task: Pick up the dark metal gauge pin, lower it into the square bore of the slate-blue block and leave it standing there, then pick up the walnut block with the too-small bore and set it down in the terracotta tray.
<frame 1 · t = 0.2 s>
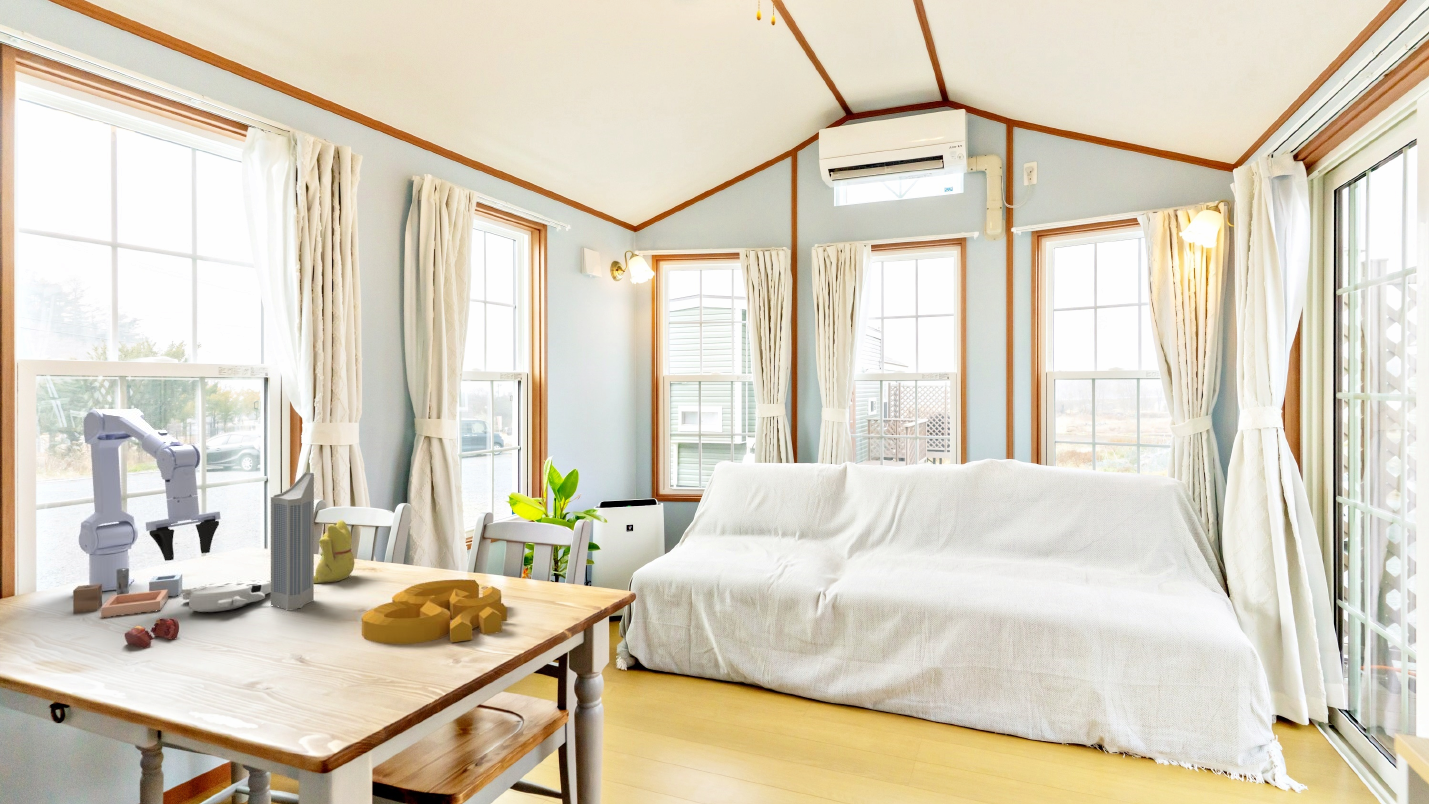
hand: (187, 556, 160), 11 cm above the table, tool pointing down, fingers open, 7 cm apart
gauge pin: (122, 599, 161), on the table
building model: (291, 605, 159), on the table
decorative symbol: (446, 622, 150), on the table
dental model: (152, 643, 136), on the table
tray: (136, 607, 155), on the table
slate block: (166, 594, 166), on the table
figurine: (333, 581, 179), on the table
walnut block: (87, 609, 154), on the table
toy: (226, 605, 160), on the table
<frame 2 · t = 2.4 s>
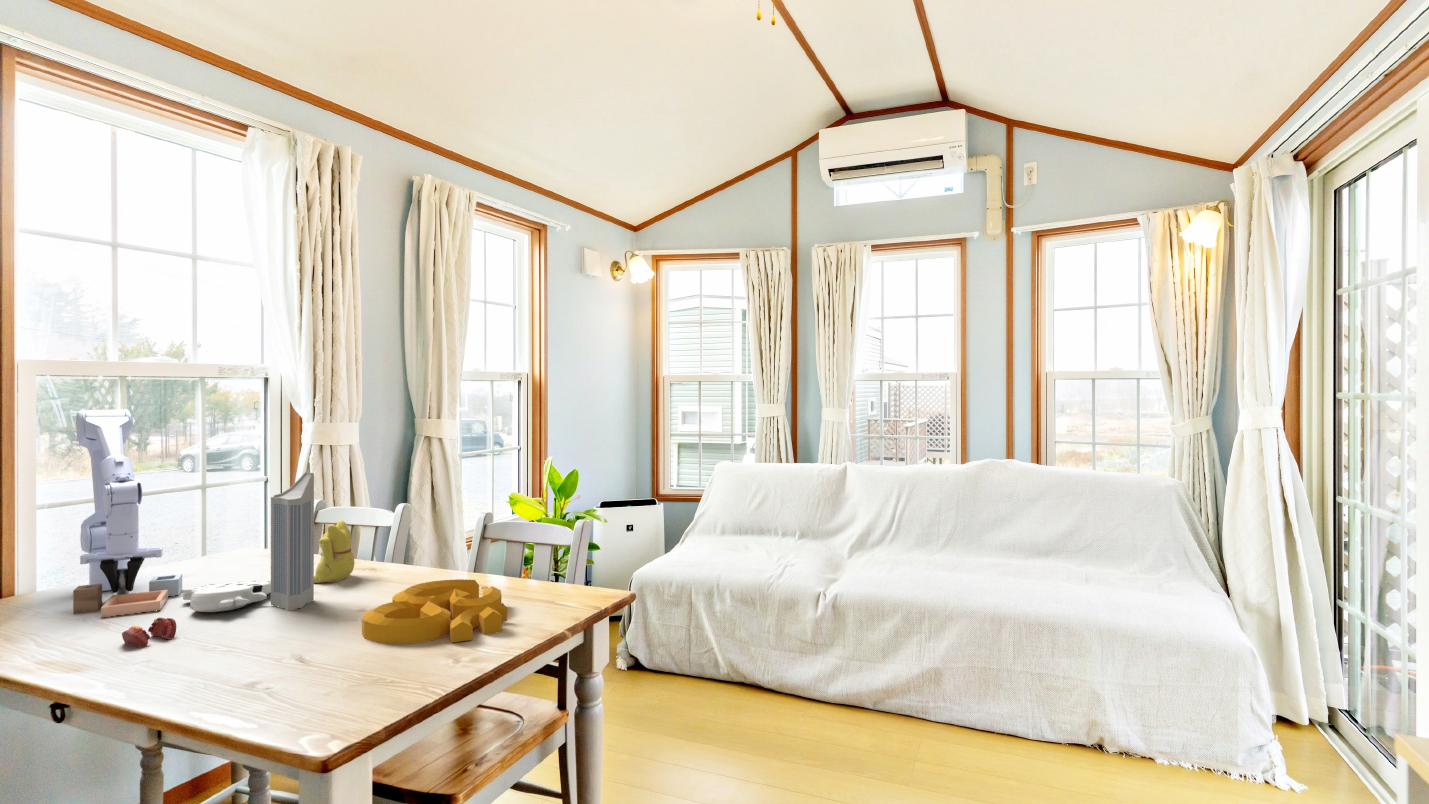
hand: (122, 590, 161), 2 cm above the table, tool pointing down, fingers closed on gauge pin, 2 cm apart
gauge pin: (122, 599, 161), on the table, touching gripper
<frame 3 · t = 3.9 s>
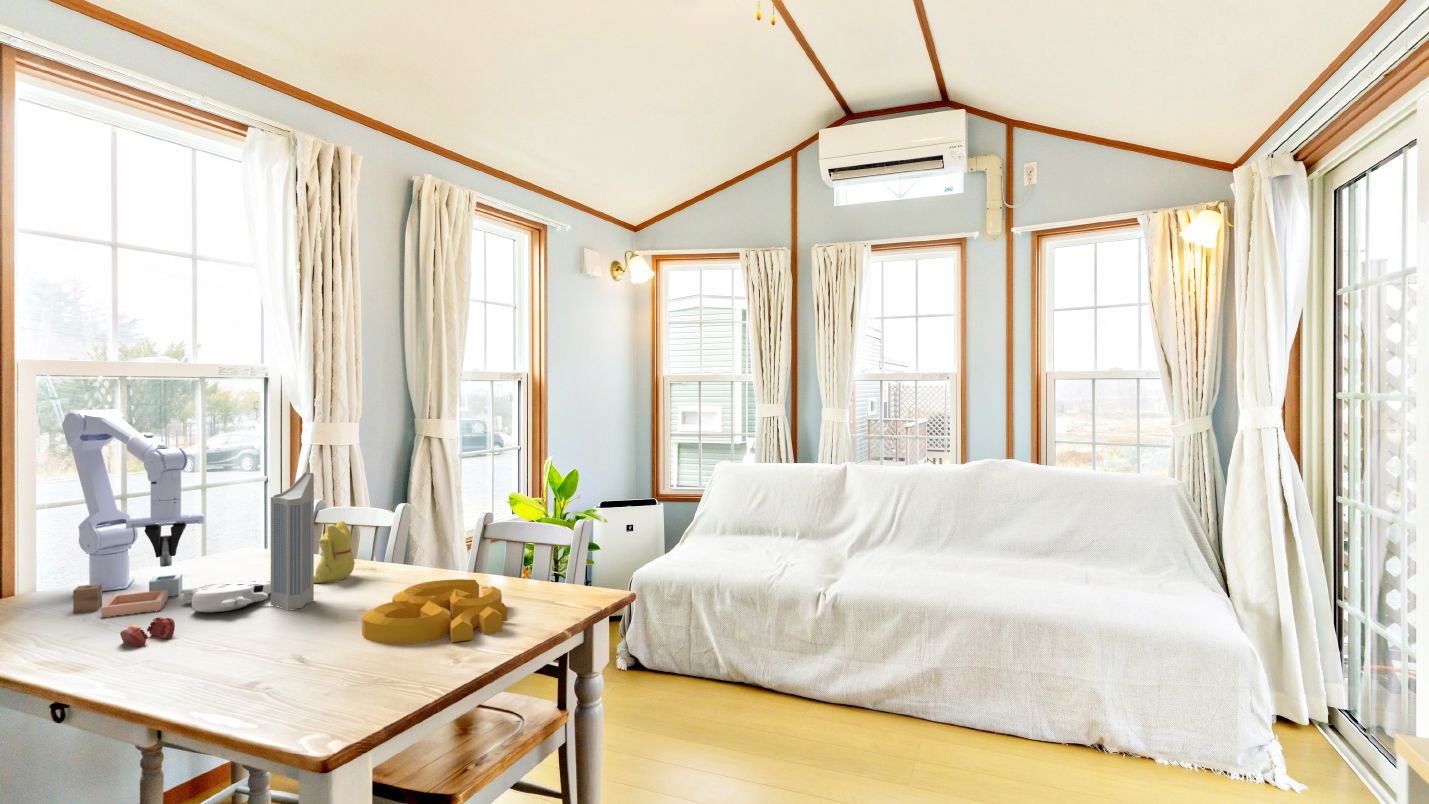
hand: (166, 555, 165), 9 cm above the table, tool pointing down, fingers closed on gauge pin, 2 cm apart
gauge pin: (165, 565, 165), point 7 cm above the table, touching gripper
when the fingers open (4 cm above the table, at t = 5.2 s): gauge pin drops 2 cm, resting in slate block.
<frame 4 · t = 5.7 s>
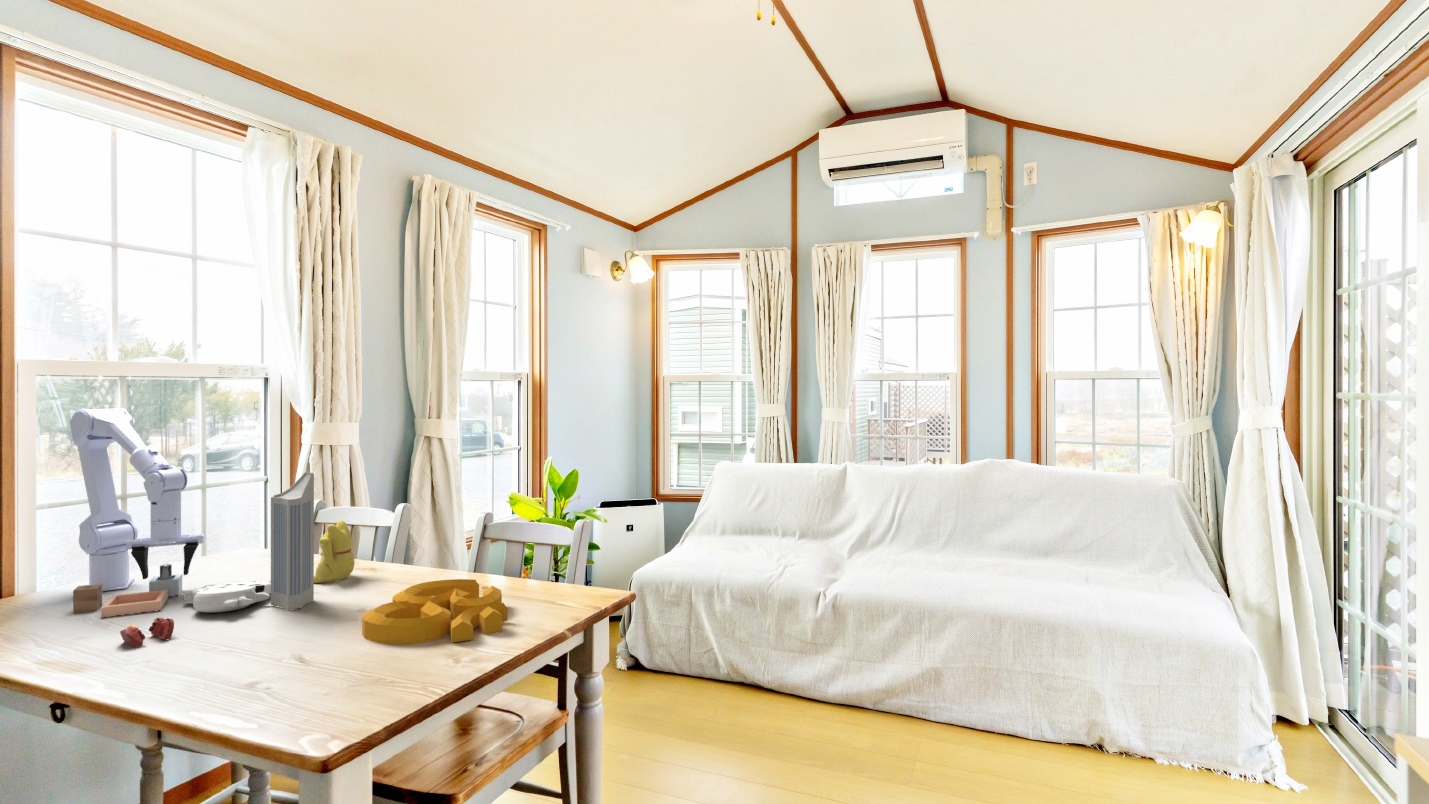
hand: (166, 576, 165), 4 cm above the table, tool pointing down, fingers open, 7 cm apart
gauge pin: (165, 594, 165), resting in slate block
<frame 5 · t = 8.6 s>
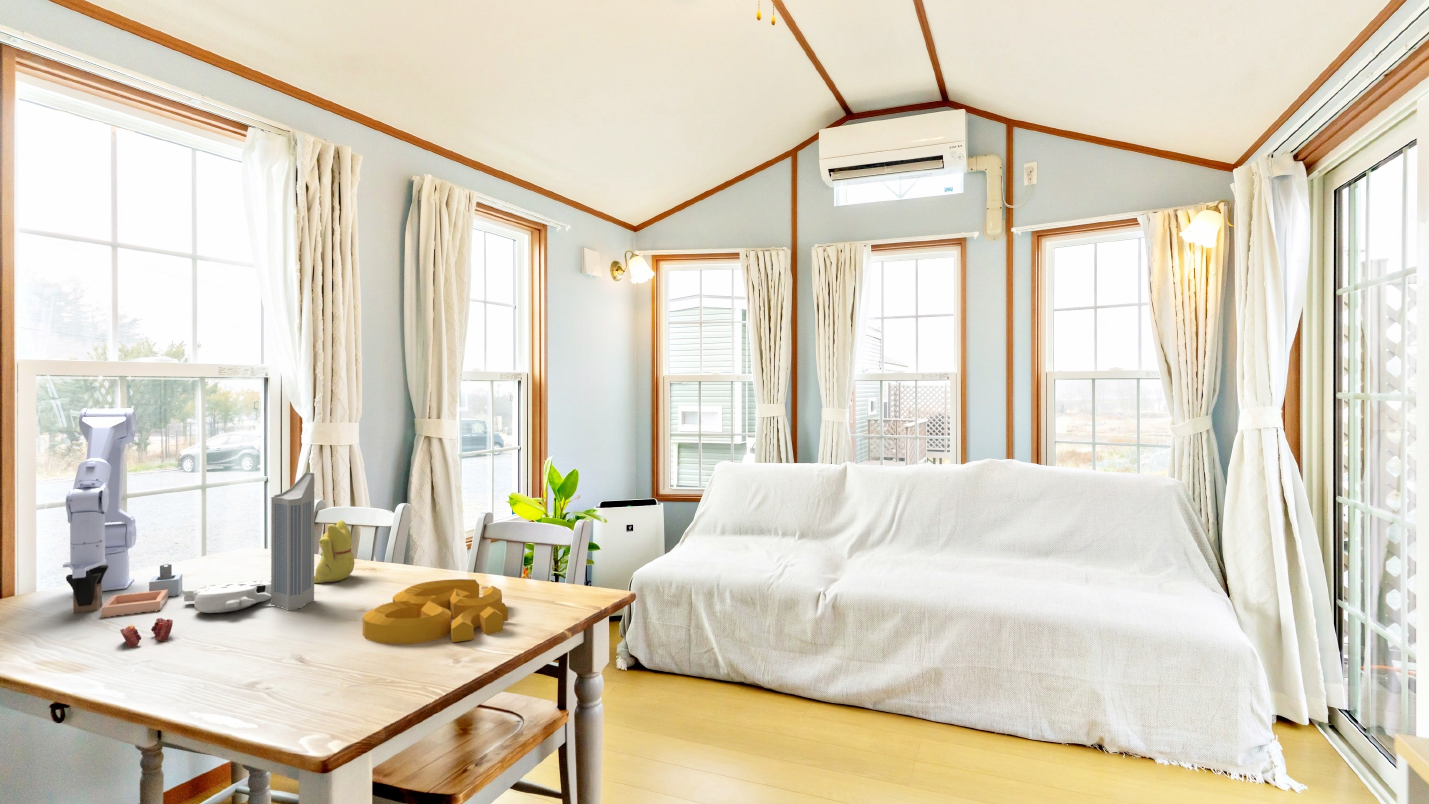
hand: (87, 602, 154), 1 cm above the table, tool pointing down, fingers closed on walnut block, 4 cm apart
walnut block: (87, 608, 154), on the table, touching gripper
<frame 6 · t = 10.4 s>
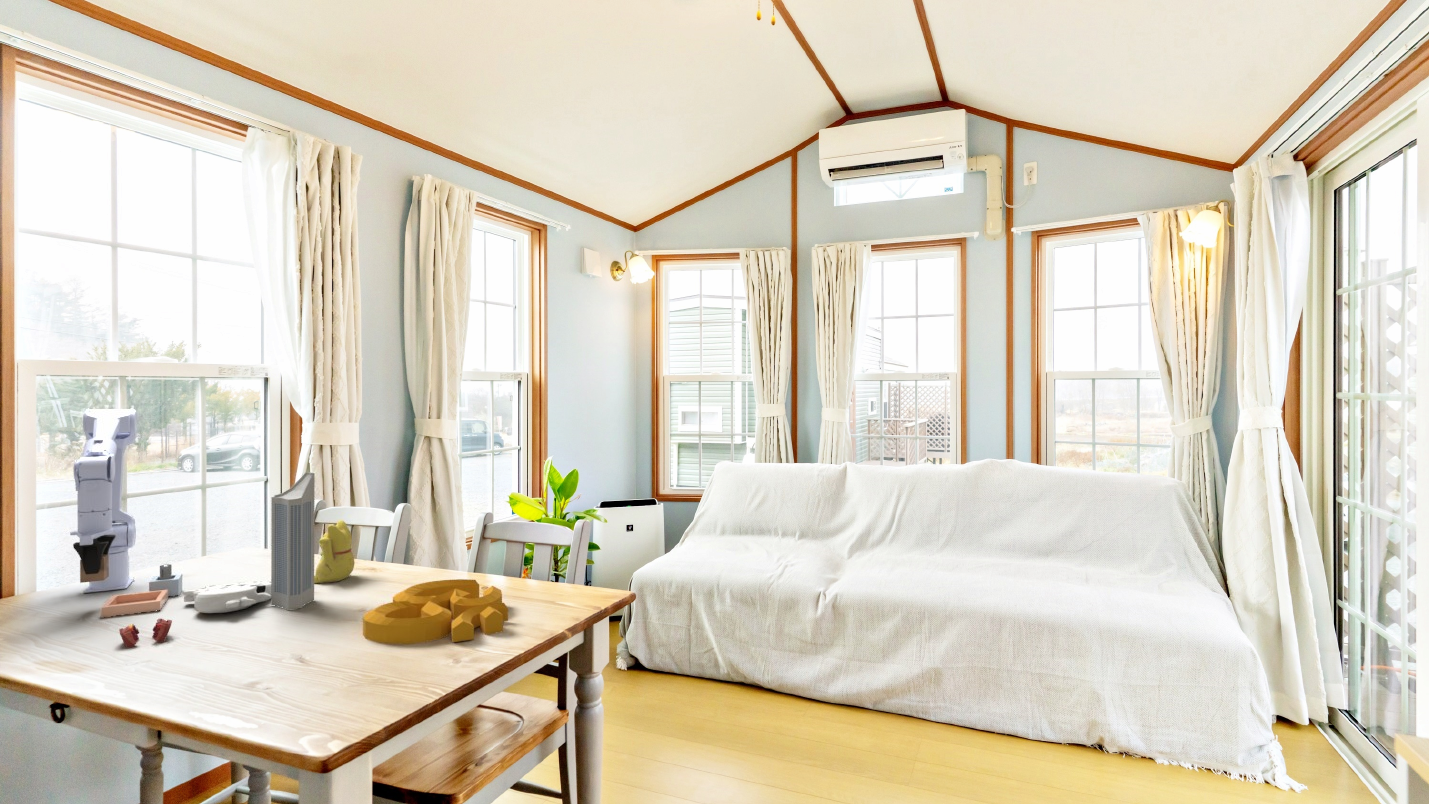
hand: (95, 571, 154), 8 cm above the table, tool pointing down, fingers closed on walnut block, 4 cm apart
walnut block: (94, 579, 154), point 7 cm above the table, touching gripper
when the fingers open (3 cm above the table, at t = 12.4 s): walnut block stays where it is, resting on tray.
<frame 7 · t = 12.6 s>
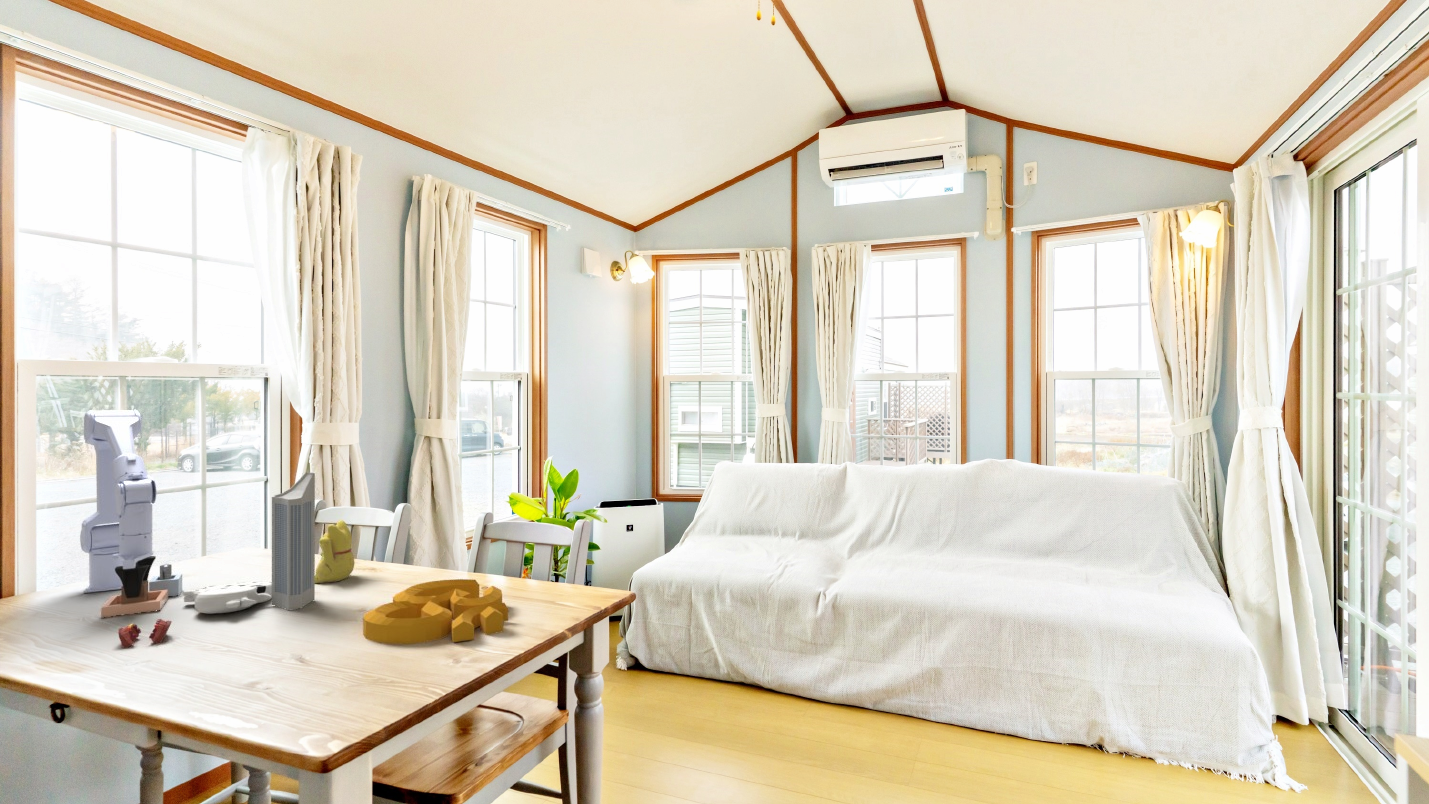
hand: (136, 593, 155), 3 cm above the table, tool pointing down, fingers open, 6 cm apart
walnut block: (135, 605, 155), resting on tray
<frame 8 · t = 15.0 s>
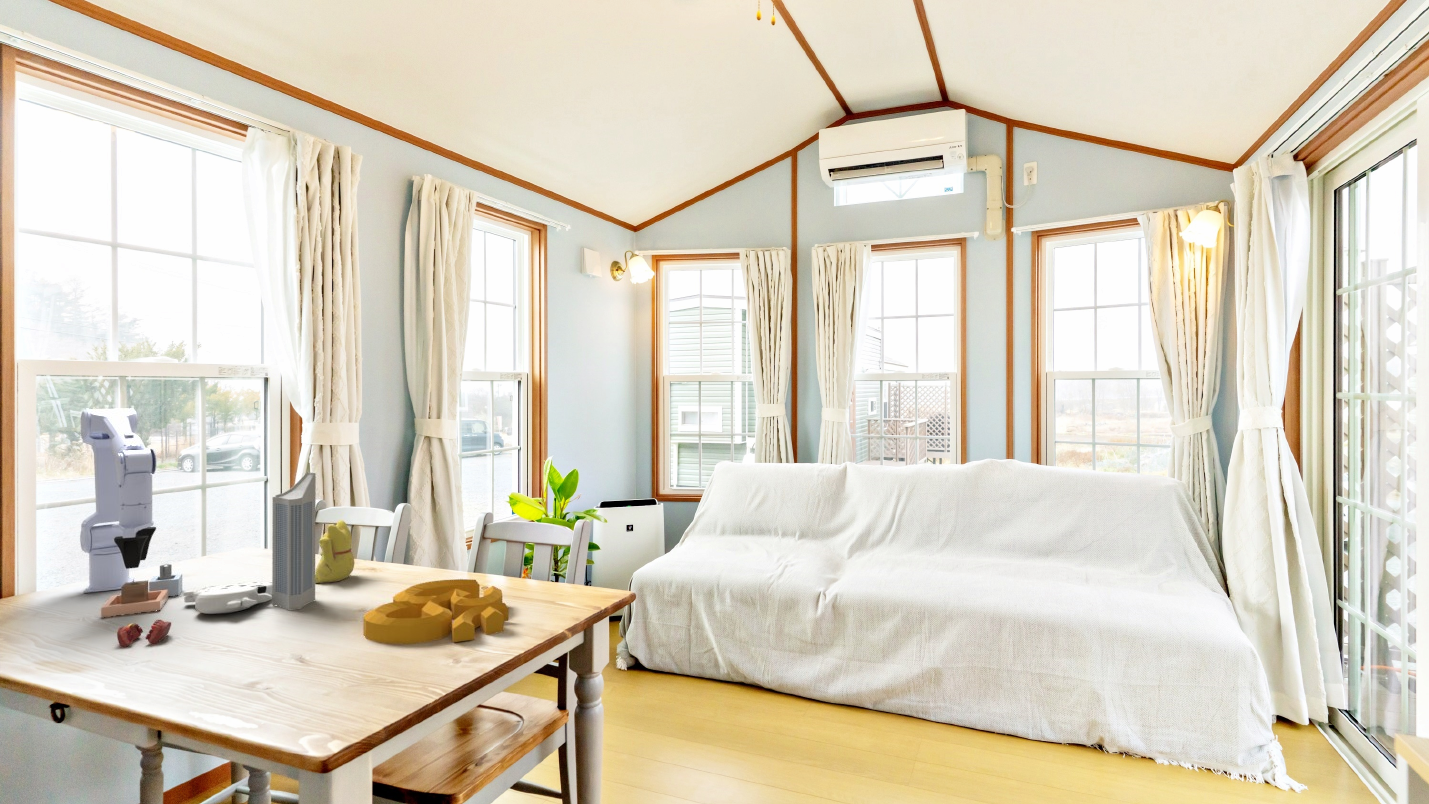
hand: (136, 563, 155), 10 cm above the table, tool pointing down, fingers open, 7 cm apart
at the end: walnut block inside the target area on the tray (0.2 cm from its centre), point 0.5 cm above the tray's base; gauge pin 0.2 cm from the slate block (horizontally); gauge pin resting in slate block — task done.
